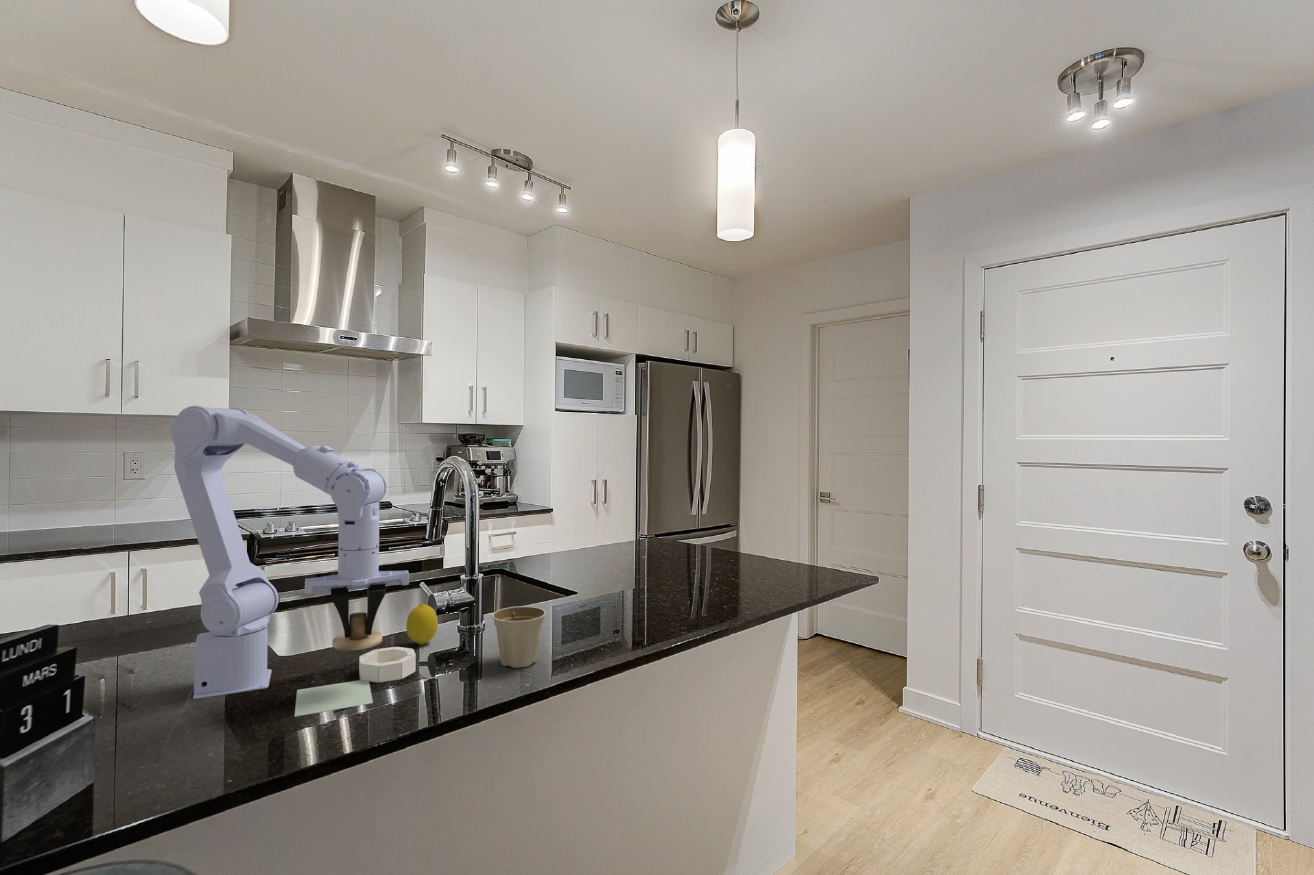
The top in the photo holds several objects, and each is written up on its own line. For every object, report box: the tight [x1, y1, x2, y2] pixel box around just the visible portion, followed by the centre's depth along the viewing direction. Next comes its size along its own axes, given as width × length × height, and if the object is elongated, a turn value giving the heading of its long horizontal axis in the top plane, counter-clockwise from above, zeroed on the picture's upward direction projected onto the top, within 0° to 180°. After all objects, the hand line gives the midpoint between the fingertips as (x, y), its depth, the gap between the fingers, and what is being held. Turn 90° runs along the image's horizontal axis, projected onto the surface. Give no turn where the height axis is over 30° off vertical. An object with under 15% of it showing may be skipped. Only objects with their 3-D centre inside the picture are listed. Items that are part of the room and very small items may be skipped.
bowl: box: [358, 646, 417, 683], centre depth 104 cm, size 8×8×3 cm
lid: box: [331, 612, 383, 651], centre depth 97 cm, size 7×7×4 cm
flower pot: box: [491, 605, 547, 669], centre depth 110 cm, size 9×9×9 cm
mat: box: [294, 679, 374, 718], centre depth 94 cm, size 10×10×1 cm
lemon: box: [406, 602, 439, 646], centre depth 118 cm, size 6×6×8 cm
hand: (357, 634), depth 97 cm, fingers closed on lid, 2 cm apart
